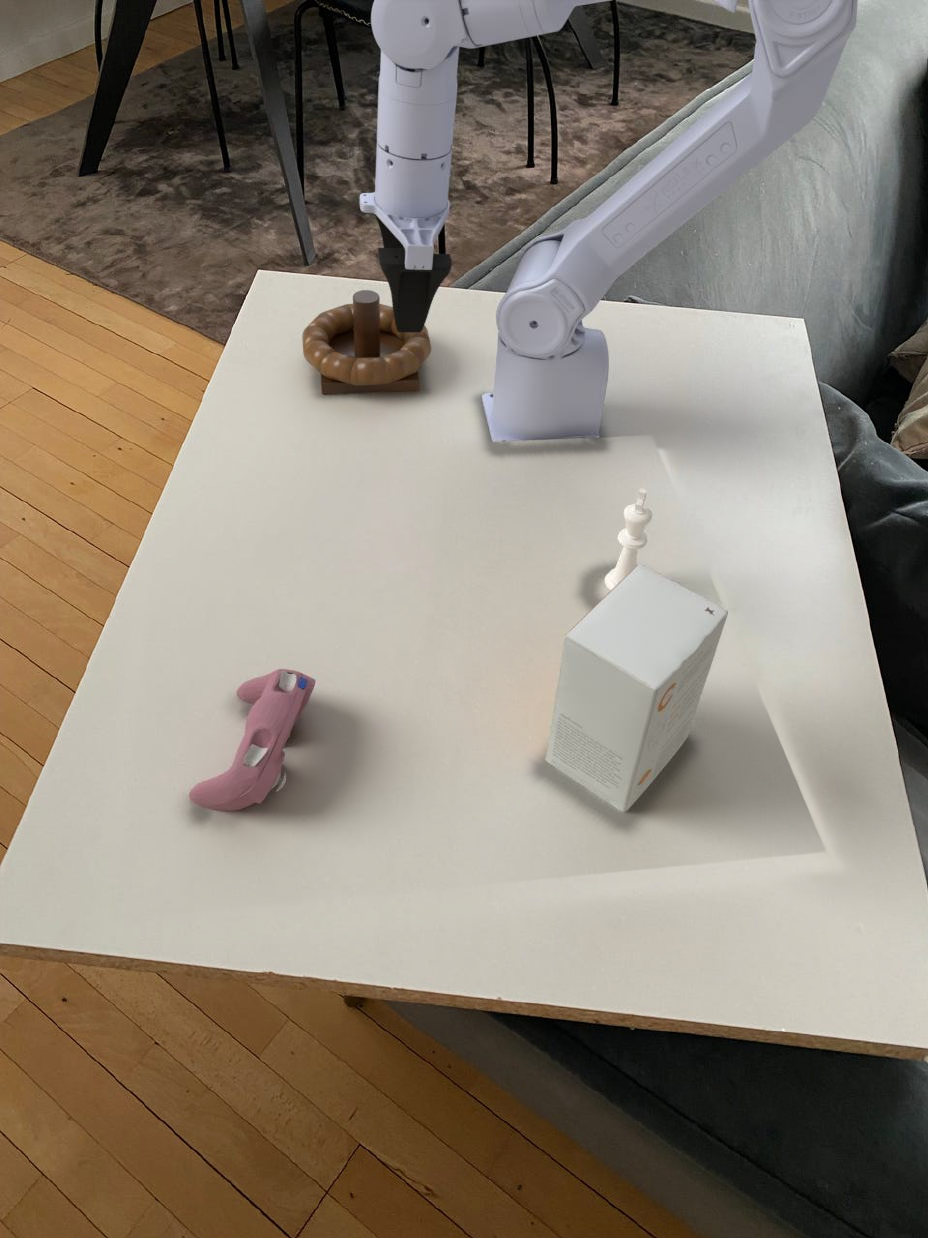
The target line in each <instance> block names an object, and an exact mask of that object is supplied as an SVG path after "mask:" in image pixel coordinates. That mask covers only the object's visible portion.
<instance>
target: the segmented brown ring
mask: <svg viewBox="0 0 928 1238" xmlns="http://www.w3.org/2000/svg"><path fill="white" fill-rule="evenodd" d="M350 330H354V320H353V303H346V304H343V305H340V306H337V307H334V308H331V309H328V310H325V311H322V312H320V313H319V314H318V315H317V316H316V317H315V318H314V319H313V320H312V321H311V322H310V323H309V324H308V325H306V327H305V328H304V329H303V331H302V335H301V338H302V341H301V342H302V353H303V354H302V355H303V357H304V359H305V361H306V362H307V363H308V364H309V365H311V366H312V367H313V368H314V369H315V370H317V372H318V373H319V374H320V373H321V374H322V375H324V376H325V377H327V378H330V379H334V380H337V381H341V382H345V383H348V384H352V385H380V384H389V383H392V382H395V381H397V380H400V379H402V378H405V377H407V376H410V375H412V374H414V373H416V372H417V371H418V372H419V370H420V369H421V367H422V366H423V365H424V364H425V362H426V361H427V360H428V358H429V357H430V356H431V352H432V344H431V339H430V335H429V331H428V328H427V326H426V325H424V327H423V330H422V332H420V333H418V332H397V329H396V325H395V320H394V314H393V306H392V305H391V306H390V305H387V304H382V303H380V330H381V331H384V332H388V333H392V334H395V335H396V336H398V337H399V338H400V339H401V340H403V341H404V346H403V347H402V348H401V349H400V350H399V351H397V352H394V353H391V354H389V355H386V356H383V357H371V358H356V357H353V356H349V355H345V354H341V353H338V352H336V351H335V350H334V349H333V348H331V347H330V346H329V342H330V341H331V340H332V338H333V337H334V336H336V335H339V334H342V333H345V332H347V331H350Z"/></svg>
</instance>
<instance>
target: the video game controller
mask: <svg viewBox="0 0 928 1238" xmlns="http://www.w3.org/2000/svg"><path fill="white" fill-rule="evenodd" d="M315 685H316V679H315V678H313V677H311V676H309V675H307V674H304V673H302V672H300V671H297V670H293V669H287V668H278V669H275V670H274V671H272V672H270V673H268V674H265V675H261V676H258V677H254V678H252V679H251V678H250V679H249V680H246V681H244V682H243V683H241V685H239V686H238V688H237V690H236V696H237V698H238V699H239V700H242V701H243V702H246V703H249V704H253V705H252V706H251V708H250V710H249V712H248V714H247V717H246V721H245V727H244V734H243V737H242V739H241V741H240V744H239V745H238V748H237V750H236V753H235V756H234V759H233V762H232V764H231V766H230V767H229V769H227V770H226V771H224V772H223V773H221V774H219V775H217V776H214V777H212V778H209V779H206V780H203V781H201V782H199V783H197V784H196V785H194V786H193V788H191V789H190V791H189V794H188V796H189V800H190V801H191V802H192V803H194V804H195V805H198V806H200V807H202V808H205V809H208V810H213V811H219V812H220V811H221V812H236V811H239V810H243V809H245V808H248V807H250V806H252V805H254V804H258V805H260V804H261V803H263V801H264V800H265V799H266V798H267V796H268V794H269V793H270V791H271V790H273V789H274V788H275V789H274V790H275V791H274V792H275V793H277V792H279V791H281V789H283V788H284V786H285V784H286V782H287V773H286V772H284V773H282V772H281V771H282V766H283V763H284V760H285V758H286V757H285V756H286V752H285V751H284V747H285V746H286V743H287V741H288V739H289V738H290V737H291V732H292V729H293V728H294V725H295V724H296V722H297V721H298V720H299V718H300V717H301V715H302V713H303V712H304V711H305V709H306V707H307V705H308V703H309V701H310V699H311V698H310V697H311V695H312V694H313V691H314V689H315Z"/></svg>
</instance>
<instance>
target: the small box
mask: <svg viewBox="0 0 928 1238" xmlns="http://www.w3.org/2000/svg"><path fill="white" fill-rule="evenodd" d="M728 615H729V611H728V610H726V609H725V608H723V607H721V606H720V605H718V604H716V603H714V602H712V601H711V600H709V599H707V598H705V597H703V596H702V595H700V594H698V593H696V592H694V591H693V590H690V589H689V588H686V587H685V586H683V585H682V584H679V583H677V582H676V581H673V580H672V579H669V578H667V577H666V576H664V575H662V574H660V573H658V572H657V571H654V570H652V569H650V568H648V567H646V566H645V565H643V564H641V563H638V564H636V567H635V568H634V569H633V570H632V571H631V572H630V573H629V574H627V575H626V576H625V577H624V578H623V579H622V580H621V581H620V582H619V583H618V584H617V585H616V586H615V587H614V588H613V589H612V590H611V591H610V590H609V592H608V593H607V594H606V595H605V596H603V598H602V599H601V600H599V602H598V603H597V604H596V605H594V606H593V608H591V609H590V610H589V612H587V613H586V614H585V615H584V616H583V617H582V618H581V619H580V620H578V622H577V623H575V625H574V626H572V628H571V629H570V630H569V631H568V632H567V633H565V635H564V642H563V648H562V653H561V661H560V665H559V666H560V667H559V672H558V679H557V685H556V691H555V698H554V703H553V710H552V715H551V721H550V729H549V734H548V740H547V745H546V750H545V751H546V753H545V758H544V760H545V762H546V763H548V764H549V765H551V766H553V767H554V768H555V769H557V770H558V771H560V772H561V773H563V774H564V775H566V776H567V777H569V778H570V779H572V780H574V781H575V782H577V783H578V784H580V785H581V786H583V787H584V788H585V789H587V790H588V791H590V792H592V793H593V794H595V795H596V796H598V797H599V798H600V799H602V800H603V801H605V802H606V803H608V804H609V805H611V806H613V807H614V808H616V809H617V810H619V811H620V812H622V813H626V812H627V811H629V810H630V808H631V807H632V806H633V805H634V804H635V803H636V801H638V799H639V798H640V797H641V796H642V795H643V793H645V791H646V790H647V789H648V788H649V787H650V785H651V784H652V783H653V782H654V780H655V779H656V778H657V777H658V775H659V774H660V773H661V772H662V770H663V769H664V768H666V766H667V765H668V763H669V762H670V761H671V760H672V758H673V757H674V756H675V755H676V754H677V752H678V751H679V750H680V748H681V747H682V745H684V743H685V742H686V740H687V739H688V737H689V735H690V731H691V728H692V725H693V722H694V718H695V715H696V712H697V708H698V706H699V704H700V703H699V702H700V700H701V696H702V694H703V692H704V691H703V690H704V688H705V685H706V682H707V679H708V676H709V673H710V670H711V667H712V665H713V661H714V659H715V654H716V651H717V648H718V645H719V643H720V639H721V637H722V633H723V631H724V627H725V623H726V621H727V619H728Z"/></svg>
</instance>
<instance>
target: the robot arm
mask: <svg viewBox="0 0 928 1238" xmlns="http://www.w3.org/2000/svg"><path fill="white" fill-rule="evenodd" d="M610 1H612V0H374V1H373V3H372V8H371V12H370V24H371V30H372V34H373V37H374V39H375V42H376V44H377V46H378V47H379V49H380V68H379V69H380V70H379V76H378V88H377V89H378V90H377V91H378V92H377V117H376V119H377V120H376V121H377V123H376V149H375V150H376V151H375V152H376V155H375V156H376V157H375V180H374V181H375V182H374V183H375V185H374V191H373V192H362V193H361V194H359V208H360V211H361V212H363V213H365V214H373V215H374V216H375V218H376V221H377V224H378V227H379V230H380V234H381V238H382V245H383V247H378V248H377V256H378V262H379V266H380V268H381V271H382V273H383V275H384V276H385V278H386V281H387V283H388V284H387V285H388V287H389V291H390V296H391V304H392V305H391V307H393V314H394V320H395V325H396V329H397V332H418V333H420V332H422V330H423V327H424V325H425V324H426V321H427V319H428V315H429V314H430V313H429V312H430V309H431V306H432V304H433V300H434V298H435V295H436V294H437V291H438V290H439V288H440V286H441V284H442V283H443V282H444V281H445V279H446V278H447V277H448V276H449V274H450V272H451V270H452V266H453V265H452V264H453V261H452V258H451V254H450V253H434V249H435V245H434V244H435V242H436V240H437V238H438V237H439V235H440V233H441V231H442V229H443V227H444V225H445V223H446V221H447V220H448V218H449V215H450V207H451V204H450V203H451V202H450V200H449V190H450V180H451V179H450V178H451V167H452V156H453V155H452V154H453V143H454V130H455V122H456V121H455V119H456V110H457V109H456V108H457V98H458V77H457V76H458V68H459V67H458V65H459V55H460V48H465V49H478V48H481V47H482V48H483V47H487V46H492V45H497V44H501V43H506V42H511V41H517V40H521V39H526V38H532V37H537V36H542V35H545V34H550V33H555V32H559V31H560V30H561V29H562V28H563V27H564V25H565V24H566V22H567V21H568V19H569V17H570V15H571V14H572V12H573V10H574V9H575V8H576V7H579V6H584V5H591V4H596V3H597V4H598V3H603V2H604V3H605V2H610ZM738 1H739V0H713V2H715V3H717V4H718V5H720V6H721V7H722V8H724V9H725V10H727V11H728V12H730V13H733V14H735V13H736V10H737V5H738ZM747 2H748V8H749V14H750V18H751V23H752V27H753V28H752V29H753V32H754V37H755V40H756V41H755V46H754V54H753V65H752V71H751V72H750V73H749V74H748V75H747V77H745V78H744V79H743V80H742V81H740V82H739V83H738V84H737V85H736V86H735V87H734V88H733V89H731V90H730V91H729V92H728V93H727V94H726V95H725V96H723V97H722V98H721V99H720V100H719V101H717V103H716V104H713V106H712V107H711V108H710V109H709V110H707V111H706V112H705V113H704V114H703V115H702V116H701V117H699V118H698V119H697V120H696V121H695V122H694V123H693V124H691V126H689V127H688V128H687V129H686V130H684V132H683V133H681V134H680V135H679V136H678V137H677V138H675V140H673V141H672V142H671V143H670V144H669V145H667V146H666V147H665V148H664V149H663V150H662V151H661V152H660V153H659V154H657V155H656V156H655V157H654V158H653V159H651V160H650V161H649V162H648V163H647V164H646V165H645V166H643V168H642V169H640V170H639V171H638V172H637V173H636V174H635V175H634V176H632V177H631V178H630V179H629V180H628V181H627V182H625V183H624V184H623V185H622V186H621V187H620V188H619V189H617V190H615V192H614V193H613V194H612V195H611V196H610V197H608V198H607V199H606V200H605V201H604V202H603V203H602V204H600V205H599V206H598V207H597V208H596V209H595V210H593V211H592V212H591V213H590V214H589V215H588V216H586V217H584V218H579V219H578V218H577V219H574V220H573V221H571V222H570V223H569V224H568V225H566V227H565V228H563V229H562V230H560V231H558V232H555V233H552V234H548V235H543V236H540V237H538V238H536V239H534V240H533V241H530V243H529V244H528V245H526V247H525V248H524V249H523V251H522V253H521V255H520V257H519V261H518V265H517V268H516V271H515V273H514V275H513V277H512V280H511V282H510V284H509V286H508V288H507V291H506V292H505V293H504V295H503V296H502V298H501V299H500V301H499V303H498V306H497V309H496V313H495V324H496V327H497V331H498V332H497V343H496V353H495V369H494V378H493V379H494V381H493V392H485V393H483V394H482V395H481V401H482V402H481V403H482V406H483V410H484V415H485V418H486V422H487V427H488V430H489V434H490V438H491V442H492V443H499V442H502V443H503V442H523V441H525V442H526V441H546V440H548V441H549V440H569V439H570V440H571V439H573V440H574V439H594V438H600V435H599V434H600V429H601V421H602V417H603V411H604V406H605V399H606V394H607V388H608V383H609V382H608V381H609V370H610V369H609V368H610V357H609V355H610V354H609V346H608V342H607V338H606V335H605V333H604V332H603V331H602V330H601V329H597V328H591V327H590V328H589V327H585V326H584V325H583V320H584V319H585V318H586V317H588V315H590V314H591V313H592V312H593V311H594V309H595V308H596V307H597V305H598V304H599V303H600V301H601V300H602V299H603V297H604V296H605V295H606V293H607V292H608V291H609V289H610V288H611V286H612V285H613V284H614V283H615V281H616V280H617V279H618V278H619V277H620V276H621V275H622V274H624V273H625V272H626V271H627V270H629V269H630V268H631V267H632V266H633V265H635V264H636V263H638V261H640V260H641V259H642V258H643V257H645V256H646V255H647V254H648V253H650V252H651V251H652V250H653V249H655V248H656V247H657V246H658V245H660V244H661V243H662V242H664V241H665V240H666V239H667V238H668V237H670V236H671V235H672V234H673V233H675V232H676V231H677V230H678V229H679V228H681V227H682V226H683V225H684V224H686V223H687V222H688V221H690V220H691V219H692V218H693V217H695V216H696V215H697V214H698V213H699V212H700V211H702V210H703V209H704V208H706V207H707V206H708V205H709V204H710V203H712V202H713V201H714V200H715V199H717V198H718V197H719V196H721V195H722V194H723V193H724V192H725V191H726V190H728V189H729V188H730V187H731V186H733V185H734V184H735V183H736V182H737V181H739V180H741V179H742V177H744V176H745V175H747V173H749V172H750V171H751V170H753V169H754V168H755V167H757V166H758V165H759V164H760V163H761V162H763V161H764V160H765V159H766V158H768V157H770V155H772V154H773V153H774V152H775V151H777V150H778V148H780V147H782V145H784V144H786V142H787V141H788V140H791V138H792V137H793V136H795V135H796V134H798V133H799V132H800V131H801V130H802V129H803V128H805V127H806V126H808V125H809V124H810V122H812V120H813V119H814V118H815V117H816V116H817V115H818V113H819V111H820V109H821V107H822V105H823V102H824V99H825V97H826V95H827V92H828V91H829V90H828V89H829V87H830V84H831V82H832V80H833V77H834V74H835V72H836V70H837V67H838V65H839V63H840V59H841V58H842V54H843V52H844V50H845V47H846V45H847V43H848V40H849V38H850V37H851V36H852V34H853V32H854V30H855V28H856V25H857V16H858V4H859V3H858V2H859V0H747ZM425 326H426V325H425Z"/></svg>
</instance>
